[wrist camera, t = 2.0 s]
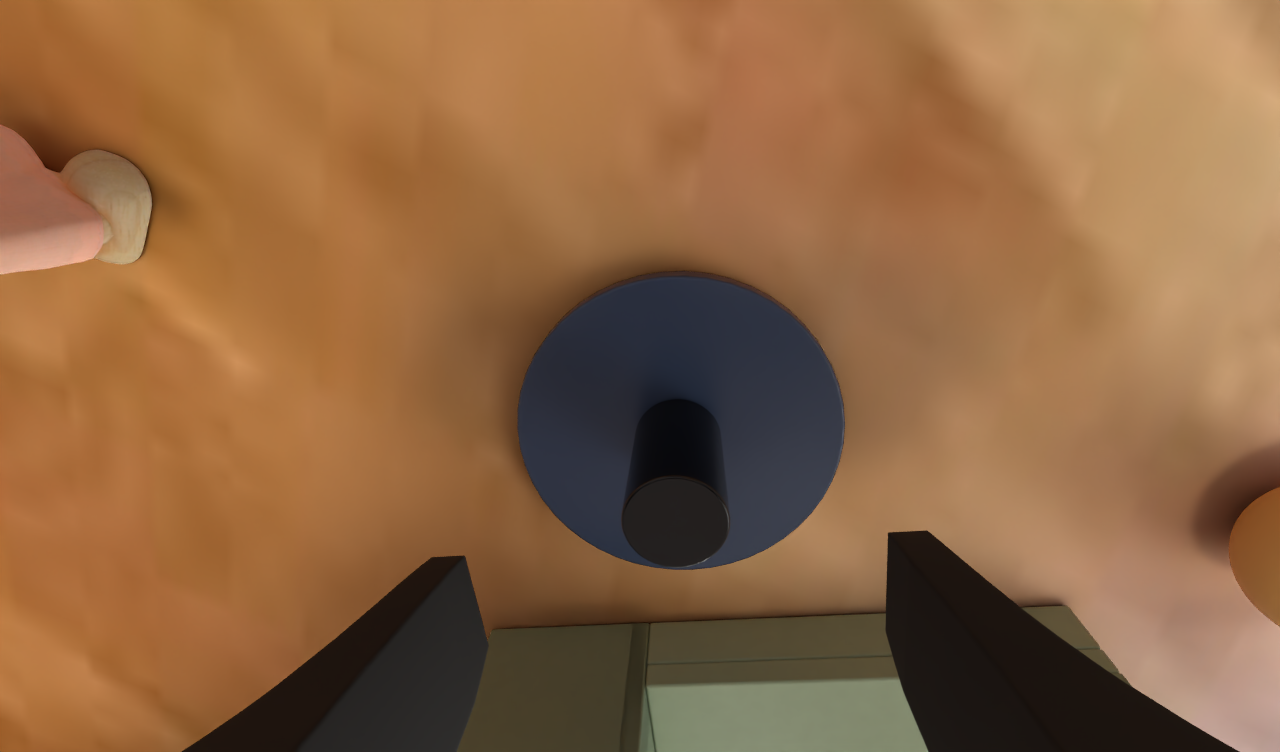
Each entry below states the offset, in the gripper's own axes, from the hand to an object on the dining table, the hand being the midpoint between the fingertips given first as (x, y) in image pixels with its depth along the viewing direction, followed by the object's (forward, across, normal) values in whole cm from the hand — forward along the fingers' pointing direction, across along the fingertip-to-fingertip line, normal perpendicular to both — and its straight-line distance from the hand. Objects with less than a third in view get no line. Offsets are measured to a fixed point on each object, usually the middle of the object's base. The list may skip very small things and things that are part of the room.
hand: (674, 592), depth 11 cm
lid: (+6, 0, 0) cm, 6 cm away
